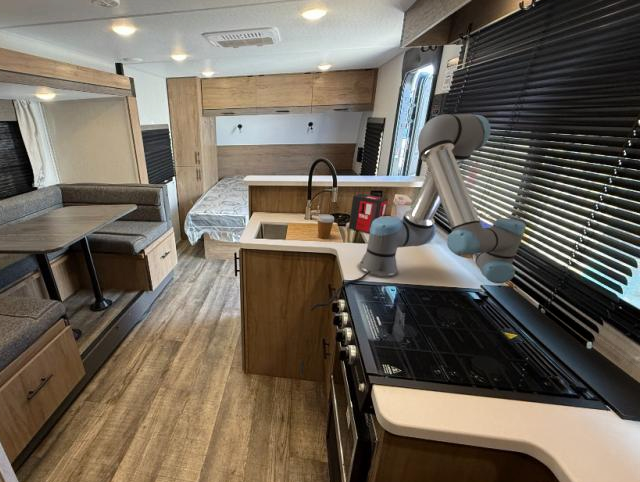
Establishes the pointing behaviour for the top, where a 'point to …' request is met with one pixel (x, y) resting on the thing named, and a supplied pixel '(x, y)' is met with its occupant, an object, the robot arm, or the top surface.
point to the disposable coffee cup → (325, 225)
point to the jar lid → (485, 225)
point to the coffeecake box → (400, 206)
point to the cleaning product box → (366, 211)
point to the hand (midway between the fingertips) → (468, 234)
